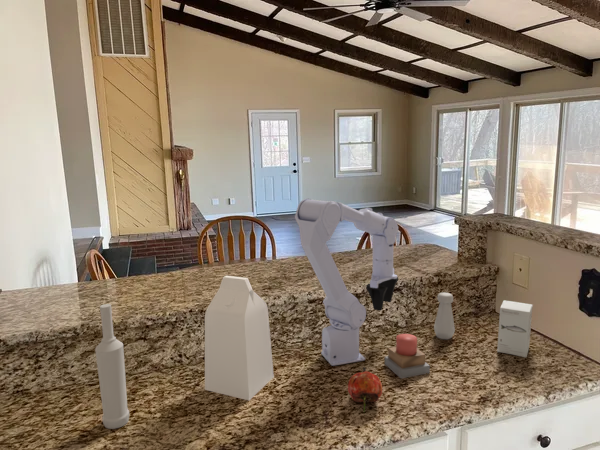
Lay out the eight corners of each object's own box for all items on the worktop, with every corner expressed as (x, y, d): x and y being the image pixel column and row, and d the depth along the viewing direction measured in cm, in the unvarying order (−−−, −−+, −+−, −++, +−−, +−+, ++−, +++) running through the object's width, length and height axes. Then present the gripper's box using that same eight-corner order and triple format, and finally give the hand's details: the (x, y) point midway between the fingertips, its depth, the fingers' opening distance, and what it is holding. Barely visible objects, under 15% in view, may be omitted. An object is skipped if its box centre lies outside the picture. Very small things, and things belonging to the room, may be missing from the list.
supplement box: (496, 352, 122) (498, 307, 120) (500, 342, 128) (503, 299, 126) (527, 358, 118) (530, 311, 116) (530, 347, 125) (533, 303, 122)
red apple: (383, 420, 96) (387, 376, 103) (377, 406, 92) (381, 360, 98) (349, 418, 99) (355, 374, 106) (341, 403, 94) (347, 359, 101)
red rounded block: (403, 357, 111) (403, 342, 110) (392, 349, 115) (392, 335, 115) (420, 353, 112) (421, 339, 112) (409, 346, 117) (409, 332, 116)
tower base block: (400, 380, 110) (400, 370, 109) (384, 365, 117) (384, 356, 117) (429, 374, 112) (429, 365, 112) (411, 360, 119) (412, 351, 119)
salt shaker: (455, 341, 129) (457, 297, 127) (434, 340, 131) (435, 296, 128) (453, 333, 135) (454, 291, 133) (432, 332, 136) (434, 290, 134)
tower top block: (402, 368, 110) (402, 358, 110) (388, 357, 116) (388, 348, 116) (425, 363, 112) (425, 354, 112) (410, 353, 118) (410, 343, 118)
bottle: (107, 415, 96) (96, 302, 92) (132, 413, 97) (122, 300, 93) (99, 430, 91) (87, 310, 87) (125, 428, 92) (114, 309, 88)
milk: (273, 376, 111) (270, 273, 107) (249, 400, 101) (244, 287, 97) (232, 367, 116) (227, 268, 112) (204, 389, 106) (198, 281, 102)
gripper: (388, 266, 119) (387, 316, 121) (404, 254, 131) (404, 299, 134) (362, 263, 123) (362, 312, 125) (381, 252, 135) (381, 296, 137)
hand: (382, 305), depth 130 cm, fingers open, 7 cm apart
